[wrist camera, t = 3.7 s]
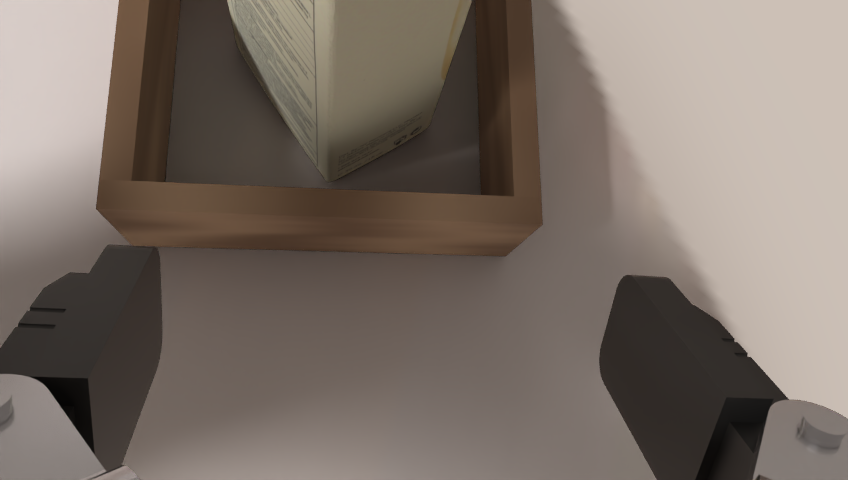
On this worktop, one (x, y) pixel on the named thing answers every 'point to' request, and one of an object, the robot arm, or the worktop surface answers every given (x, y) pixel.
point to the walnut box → (313, 207)
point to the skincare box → (350, 70)
